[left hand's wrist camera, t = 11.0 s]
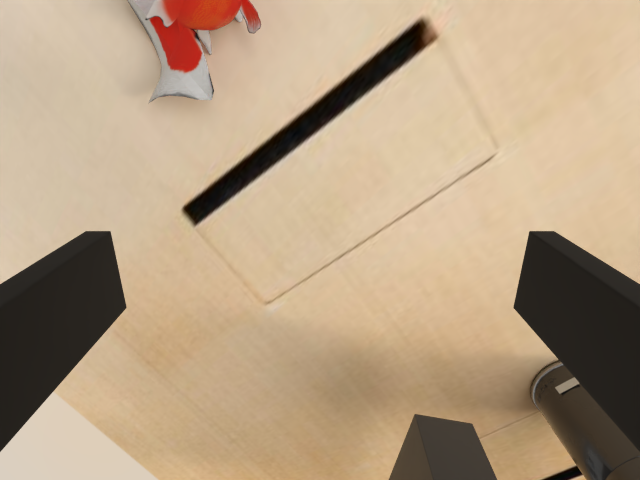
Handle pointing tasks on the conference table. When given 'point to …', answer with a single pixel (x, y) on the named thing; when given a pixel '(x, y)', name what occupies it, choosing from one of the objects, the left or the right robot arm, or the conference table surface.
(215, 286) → the conference table surface
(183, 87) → the fish
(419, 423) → the bar
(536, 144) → the conference table surface
